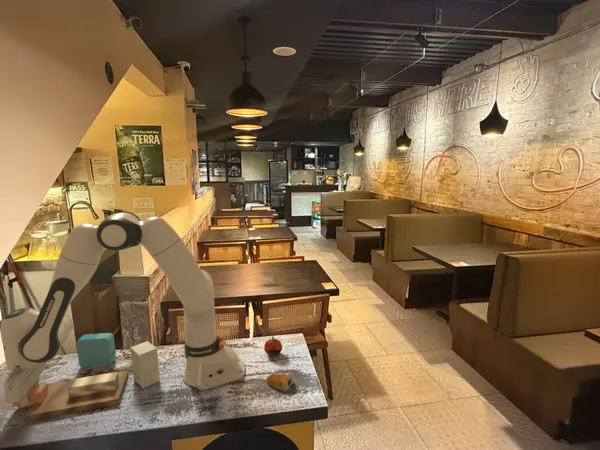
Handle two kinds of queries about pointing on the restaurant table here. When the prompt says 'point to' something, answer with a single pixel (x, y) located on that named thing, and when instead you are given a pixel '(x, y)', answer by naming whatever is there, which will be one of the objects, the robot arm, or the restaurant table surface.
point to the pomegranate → (273, 347)
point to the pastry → (280, 381)
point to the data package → (96, 350)
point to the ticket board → (80, 395)
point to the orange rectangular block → (35, 394)
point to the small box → (145, 364)
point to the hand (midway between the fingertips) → (30, 396)
